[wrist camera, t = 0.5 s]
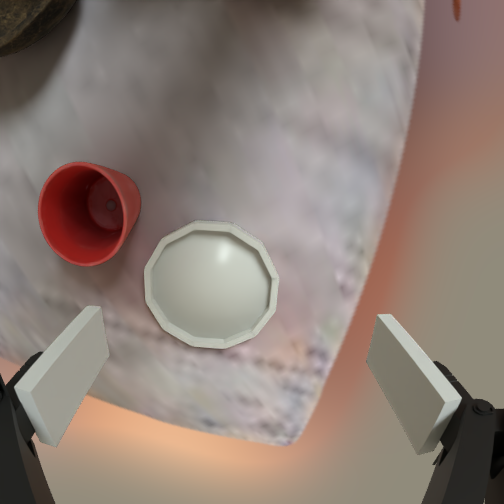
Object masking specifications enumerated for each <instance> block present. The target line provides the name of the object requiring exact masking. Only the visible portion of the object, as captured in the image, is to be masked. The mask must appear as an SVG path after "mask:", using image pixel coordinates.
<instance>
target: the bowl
mask: <svg viewBox="0 0 504 504" xmlns="http://www.w3.org/2000/svg"><path fill="white" fill-rule="evenodd" d="M75 1H76V0H0V57H2V56H6V55H9V54H13V53H16V52H18V51H20V50H22V49H25V48H27V47H28V46H30V45H32V44H33V43H35V42H36V41H38V40H39V39H41V38H42V37H44V36H45V35H46V34H47V33H49V32H50V31H51V30H52V29H53V28H54V27H55V26H56V25H57V24H58V23H59V22H60V21H61V20H62V19H63V18H64V16H65V15H66V14H67V13H68V12H69V10H70V9H71V7H72V6H73V4H74V3H75Z"/></svg>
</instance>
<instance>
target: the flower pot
mask: <svg viewBox="0 0 504 504" xmlns="http://www.w3.org/2000/svg"><path fill="white" fill-rule="evenodd" d="M140 209H141V197H140V193H139V190H138V188H137V186H136V184H135V183H134V182H133V181H132V180H131V179H130V178H129V177H128V176H126V175H125V174H122V173H120V172H118V171H115V170H112V169H109V168H106V167H103V166H100V165H96V164H92V163H87V162H72V163H68V164H65V165H63V166H61V167H60V168H58V169H57V170H55V171H54V172H53V173H52V174H51V175H50V176H49V178H48V179H47V181H46V182H45V184H44V186H43V188H42V190H41V193H40V197H39V203H38V218H39V224H40V228H41V231H42V233H43V236H44V238H45V239H46V241H47V243H48V244H49V246H50V247H51V248H52V250H53V251H54V252H55V253H56V254H57V255H59V256H60V257H61V258H62V259H64V260H66V261H67V262H69V263H72V264H75V265H79V266H95V265H99V264H102V263H104V262H106V261H108V260H109V259H111V258H112V257H113V256H114V255H115V254H116V253H117V252H118V251H119V249H120V248H121V246H122V245H123V243H124V241H125V240H126V238H127V236H128V234H129V233H130V231H131V229H132V227H133V226H134V224H135V222H136V220H137V218H138V216H139V213H140Z"/></svg>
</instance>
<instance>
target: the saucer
mask: <svg viewBox="0 0 504 504" xmlns="http://www.w3.org/2000/svg"><path fill="white" fill-rule="evenodd" d="M144 282H145V301H146V303H147V305H148V307H149V308H150V310H151V311H152V313H153V315H154V316H155V318H156V319H157V321H158V322H159V324H160V325H161V327H162V329H164V330H165V331H166V332H168V333H170V334H171V335H173V336H175V337H176V338H178V339H180V340H182V341H183V342H185V343H187V344H189V345H190V346H192V345H193V347H205V348H218V349H225V348H229V347H231V346H234V345H236V344H239V343H241V342H244V341H246V340H248V339H251V338H253V337H255V336H256V335H257V334H258V333H259V331H260V330H261V329H262V328H263V326H264V325H265V324H266V323H267V321H268V320H269V319H270V318H271V316H272V315H273V314H274V312H275V311H276V303H277V294H278V285H279V276H278V273H277V271H276V269H275V266H274V264H273V262H272V260H271V258H270V256H269V254H268V252H267V250H266V248H265V246H264V244H263V243H262V241H260V240H258V239H257V238H255V237H254V236H252V235H251V234H249V233H248V232H246V231H245V230H243V229H242V228H240V227H239V226H237V225H236V224H234V223H232V222H220V221H203V220H196V221H193V222H191V223H189V224H187V225H185V226H183V227H181V228H179V229H177V230H175V231H173V232H171V233H170V234H168V235H166V236H164V237H163V238H162V239H161V240H160V242H159V244H158V246H157V247H156V249H155V251H154V252H153V254H152V256H151V258H150V259H149V261H148V263H147V265H146V266H145V268H144Z"/></svg>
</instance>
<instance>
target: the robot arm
mask: <svg viewBox="0 0 504 504" xmlns="http://www.w3.org/2000/svg"><path fill="white" fill-rule="evenodd" d="M109 355H110V354H109V349H108V344H107V339H106V333H105V328H104V322H103V316H102V310H101V307H99V306H89V305H87V306H86V307H85V308H84V309H83V311H82V312H81V313H80V314H79V315H78V316H77V317H76V318H75V319H74V320H73V321H72V322H71V323H70V324H69V325H68V326H67V327H66V329H65V330H64V331H63V332H62V333H61V334H60V335H59V336H58V337H57V338H56V339H55V340H54V342H53V343H52V344H51V345H50V346H49V347H48V348H47V349H46V350H45V352H38V353H37V354H35V355H33V356H31V357H30V358H29V359H28V361H27V362H26V363H25V365H23V366H22V367H21V368H20V371H18V372H17V373H16V374H15V375H14V377H13V378H12V379H11V380H10V381H9V382H8V383H7V384H6V386H5V384H4V382H3V379H2V377H1V375H0V504H55V501H54V499H53V497H52V494H51V492H50V489H49V487H48V484H47V481H46V478H45V476H44V473H43V470H42V467H41V464H40V461H39V458H38V455H37V452H36V449H35V445H34V443H33V441H32V439H31V438H32V436H33V434H34V433H35V432H36V435H37V436H38V438H39V440H40V442H42V443H45V444H48V445H51V446H54V447H57V446H58V444H59V442H60V440H61V438H62V436H63V435H64V433H65V431H66V429H67V427H68V425H69V424H70V422H71V420H72V418H73V416H74V414H75V413H76V411H77V409H78V407H79V405H80V404H81V402H82V400H83V399H84V397H85V395H86V394H87V392H88V390H89V389H90V387H91V385H92V383H93V382H94V380H95V378H96V377H97V375H98V373H99V372H100V370H101V368H102V367H103V365H104V363H105V362H106V360H107V358H108V357H109ZM366 362H367V364H368V366H369V368H370V369H371V371H372V373H373V375H374V376H375V378H376V380H377V382H378V384H379V385H380V387H381V389H382V391H383V392H384V394H385V396H386V398H387V400H388V401H389V403H390V405H391V407H392V409H393V411H394V412H395V414H396V416H397V418H398V420H399V421H400V423H401V425H402V427H403V429H404V431H405V432H406V435H407V437H408V438H409V440H410V442H411V444H412V446H413V448H414V450H415V452H416V454H417V455H420V454H424V453H428V452H431V451H434V449H435V448H436V446H437V444H438V442H439V441H441V443H442V445H443V446H444V447H443V449H442V450H441V452H440V454H439V455H438V457H437V458H436V460H435V461H434V463H433V465H435V464H436V463H437V464H436V467H435V470H434V472H433V475H432V478H431V481H430V483H429V486H428V489H427V491H426V494H425V496H424V499H423V501H422V504H483V503H484V498H485V504H504V409H495V408H494V407H493V405H492V404H490V403H489V402H488V401H485V400H483V399H473V398H472V397H471V396H470V395H469V393H468V392H467V391H466V390H465V389H464V387H463V386H462V385H461V384H460V383H459V382H458V381H457V379H456V378H455V377H454V376H452V373H451V372H450V371H449V370H448V369H447V368H446V367H445V366H444V365H442V364H441V363H439V362H437V361H434V362H432V361H431V360H430V359H429V357H428V356H427V355H426V354H425V353H424V351H423V350H422V349H421V348H420V347H419V346H418V344H417V343H416V342H415V341H414V340H413V339H412V337H411V336H410V335H409V334H408V333H407V332H406V331H405V330H404V328H403V327H402V326H401V325H400V324H399V323H398V322H397V320H396V319H395V318H394V317H393V316H392V315H391V314H381V315H377V317H376V322H375V327H374V332H373V336H372V340H371V344H370V348H369V352H368V356H367V360H366Z"/></svg>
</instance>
